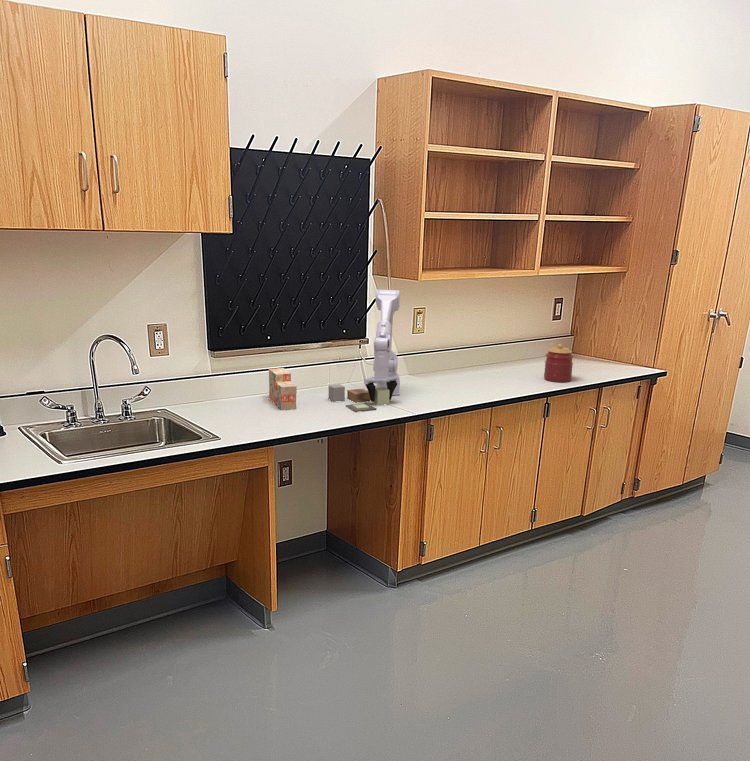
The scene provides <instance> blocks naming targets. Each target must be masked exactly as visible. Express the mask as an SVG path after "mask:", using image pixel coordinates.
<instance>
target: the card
mask: <svg viewBox="0 0 750 761" xmlns="http://www.w3.org/2000/svg"><path fill="white" fill-rule="evenodd" d="M345 407H346V408H347V407H348V409H349V410H351V411H352V410H353V411H352V412H354V411H355V412H354V413H358V412H357V411H362V412H369V411H368V410H371V411H377V408H376V407H375V406H373V405H371V404H369V403H367V402H360V403H353V404H345Z"/></svg>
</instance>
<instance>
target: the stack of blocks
mask: <svg viewBox="0 0 750 761" xmlns="http://www.w3.org/2000/svg"><path fill="white" fill-rule="evenodd" d="M291 377H292V373H290V372H289V371H288V370H287V369H285V367H276V368H268V383H269V385H268V386H269V390H268V395H269V396H268V397H269V399H270V400H271V401H272V403H274V404H275V405H276V406H277V407H278V408H279V409H280V411H284V409H285V410H286V409H287V410H296V409H297V389H298V388H297V385H296V384H295V383H294V382H293V381H292V378H291Z"/></svg>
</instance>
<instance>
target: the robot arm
mask: <svg viewBox="0 0 750 761" xmlns="http://www.w3.org/2000/svg"><path fill="white" fill-rule="evenodd" d="M400 303H401V291H400V290H399V289H397V290H396V289H379V288H377V289H376V291H375V304H376V308H377V310H378V311H380V321H379V322H377V325H376V331H375V332H376V333H375V338H373V356H374V357H373V358H374V359H373V366H372V368H373V373H374V374H373V375H374V376H372V377H367V378H366V377H365V378H363V383H364V385H365V387H366V389H367V391H368V392H369V395H370V402H372V401H374V398H375V388H382V387H384V388H386V389H388V390H389V401H391V400H392V397H393V396H398V395H401V393H400V382H401V379H400V376H399V374H398V373H397V372H398V356H397V354H396V353H395V352H394V351H393V350H392V346H393V345H392V342H393V326H394V325H393V324H394V315H395V312H397V311H399V310H400V305H401V304H400ZM375 384H376V385H375Z"/></svg>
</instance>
